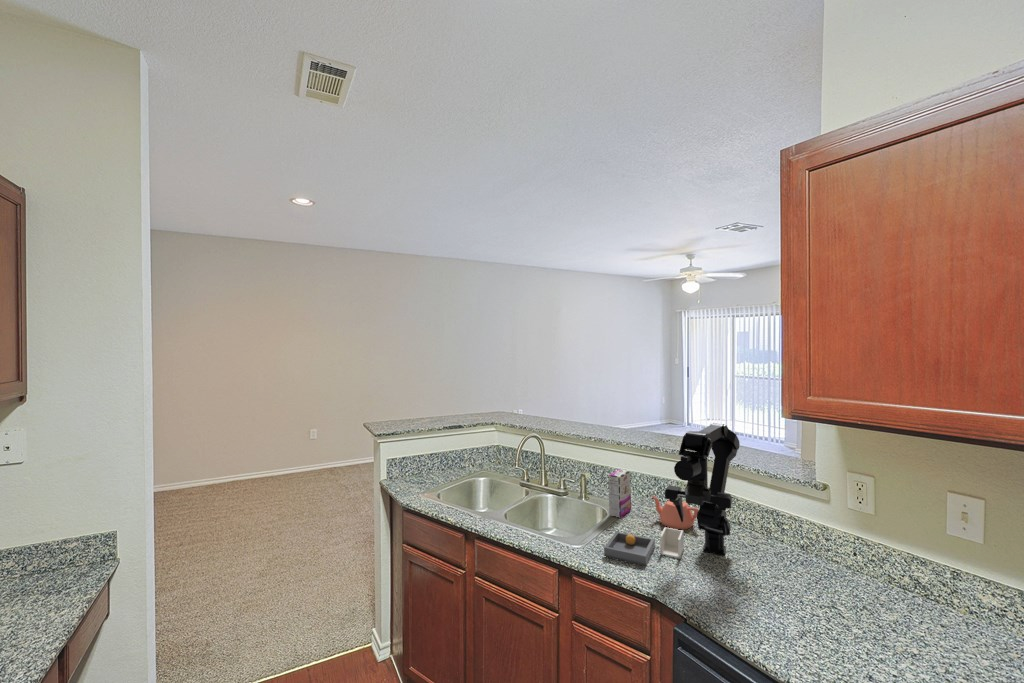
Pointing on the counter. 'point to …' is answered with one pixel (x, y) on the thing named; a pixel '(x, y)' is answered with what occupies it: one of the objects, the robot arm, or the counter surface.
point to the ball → (630, 539)
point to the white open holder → (672, 542)
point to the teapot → (675, 515)
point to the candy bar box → (619, 493)
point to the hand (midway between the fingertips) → (698, 524)
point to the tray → (630, 549)
